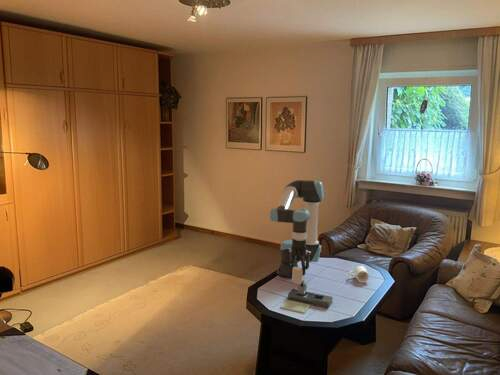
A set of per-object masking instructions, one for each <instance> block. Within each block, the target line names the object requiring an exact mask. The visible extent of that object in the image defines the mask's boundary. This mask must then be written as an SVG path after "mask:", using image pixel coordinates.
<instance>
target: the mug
mask: <svg viewBox="0 0 500 375" xmlns="http://www.w3.org/2000/svg"><path fill="white" fill-rule="evenodd" d="M348 274H349V276H351V277H355V278H356V280H357V282H359V283H366V282H368V281H369V279H370V275H369V272H368V270H367V269H366V267H365V266H363V265H358V266H356V267H355V268H354V269H353V270H350V271H349V272H348Z"/></svg>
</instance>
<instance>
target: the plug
mask: <svg viewBox="0 0 500 375" xmlns="http://www.w3.org/2000/svg"><path fill="white" fill-rule="evenodd" d="M301 269H302V267H299V266H298V267H295V268H294V269H293V280H292V283H293V284H295V285H296V284H297V285H299V284H301V283H302V281H300V280H301Z"/></svg>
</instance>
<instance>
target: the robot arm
mask: <svg viewBox="0 0 500 375" xmlns="http://www.w3.org/2000/svg"><path fill="white" fill-rule="evenodd" d="M324 197H325V196H324V186H323V182H321V181H319V180H301V179H298V180H293V181H291V182H289V183H288V184H286V185H285V187H284V188H283V190H282V196H281V198H280V200H279V202H278V205H277V206H276V207H275V208H271V209H270V212H269V219H270V221H271V222H276V223H288V224H289V223H290V224H292V234H291V235H292V236H291V237H292V239H286V240H284V241H282V242H281V243H280V255H279V256H280V257H279V258H280V259H279V260H280V263H279V265H278V267H277V272H276V274H277V276H279V277H281V276H282V277H281V278H284V277H285V279H292V281H293V269H294V268H295V267H299V265H298V264H299V263H298V262H299V261H300V264H301V268H302V269H301V280H300V281H303V280H304V276H305V275H306V270H308V269H309V268H310V263H318V262H319V259H320V256H321V252H322V245H321V244H320V241H319V240H318V223H319V220H318V219H319V204H320V203H322V200H324ZM299 198H300V199H302V201H303V204H305V205H304V208H301V209H291V208H292V206H293V203H294V200H296V199H299Z"/></svg>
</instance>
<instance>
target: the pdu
mask: <svg viewBox="0 0 500 375" xmlns="http://www.w3.org/2000/svg"><path fill="white" fill-rule="evenodd" d="M304 281H305V279H303V281H302V283H301V284H297V289H295V288H292V289H291V290H290V291H289V292H288V294H287V300H291V301H295V302H300V303H304V304H309V305H310V306H315V307H320V308H324V309H325V308H326V309H329V308H330V307H331V305H332V304H333V298H334V297H333V296H331V295H325V294H320V293H317V292H316V293H315V292H310V291H307V284H304Z"/></svg>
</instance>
